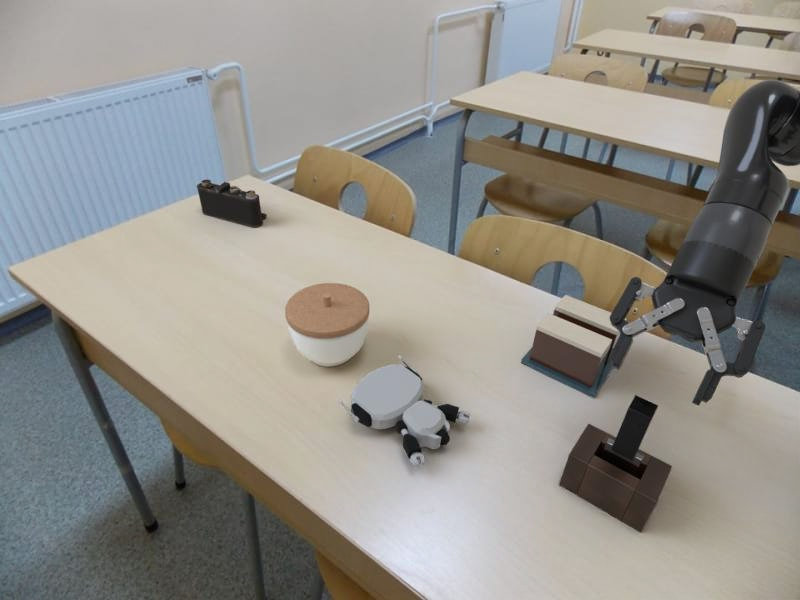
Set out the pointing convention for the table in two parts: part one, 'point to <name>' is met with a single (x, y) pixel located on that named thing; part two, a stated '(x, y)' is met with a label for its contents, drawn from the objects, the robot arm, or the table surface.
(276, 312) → the table surface
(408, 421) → the robot toy
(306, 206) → the table surface
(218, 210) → the camera
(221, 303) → the table surface
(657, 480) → the brown rectangular frame
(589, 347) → the slotted fixture
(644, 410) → the dark grey tall bar
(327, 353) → the lidded bowl
